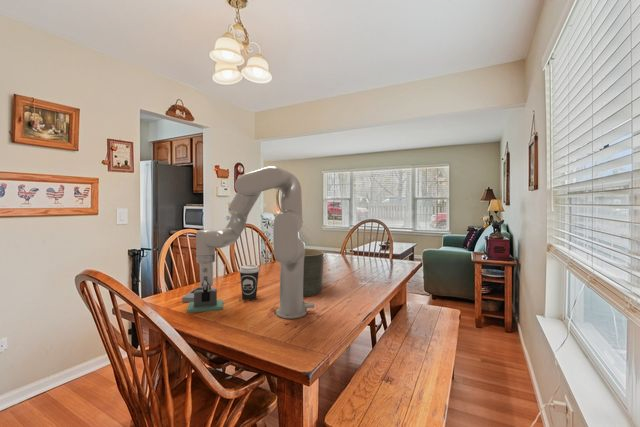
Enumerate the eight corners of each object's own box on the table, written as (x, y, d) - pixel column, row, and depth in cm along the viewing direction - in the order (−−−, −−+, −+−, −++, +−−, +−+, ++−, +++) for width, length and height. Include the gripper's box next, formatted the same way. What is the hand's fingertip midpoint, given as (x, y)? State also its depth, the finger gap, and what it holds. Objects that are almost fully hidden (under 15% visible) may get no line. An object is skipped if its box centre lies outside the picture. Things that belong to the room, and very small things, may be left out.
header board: (222, 302, 137) (222, 291, 137) (222, 309, 128) (222, 298, 128) (189, 304, 133) (189, 294, 133) (186, 312, 123) (186, 301, 123)
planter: (319, 298, 144) (319, 256, 143) (274, 295, 148) (274, 254, 147) (325, 285, 166) (326, 249, 165) (286, 283, 169) (287, 248, 169)
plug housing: (216, 302, 134) (216, 288, 133) (216, 305, 130) (216, 290, 130) (194, 304, 131) (194, 289, 131) (194, 307, 127) (194, 292, 127)
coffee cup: (263, 297, 144) (263, 266, 143) (246, 302, 137) (246, 269, 136) (252, 293, 150) (252, 263, 150) (235, 297, 144) (235, 266, 143)
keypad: (182, 295, 136) (196, 285, 151) (182, 303, 137) (196, 293, 152) (203, 295, 136) (215, 286, 151) (203, 303, 136) (215, 293, 151)
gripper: (214, 261, 122) (215, 303, 123) (215, 254, 139) (216, 291, 139) (194, 262, 120) (195, 305, 121) (198, 255, 137) (198, 293, 137)
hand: (206, 297), depth 130 cm, fingers open, 9 cm apart
